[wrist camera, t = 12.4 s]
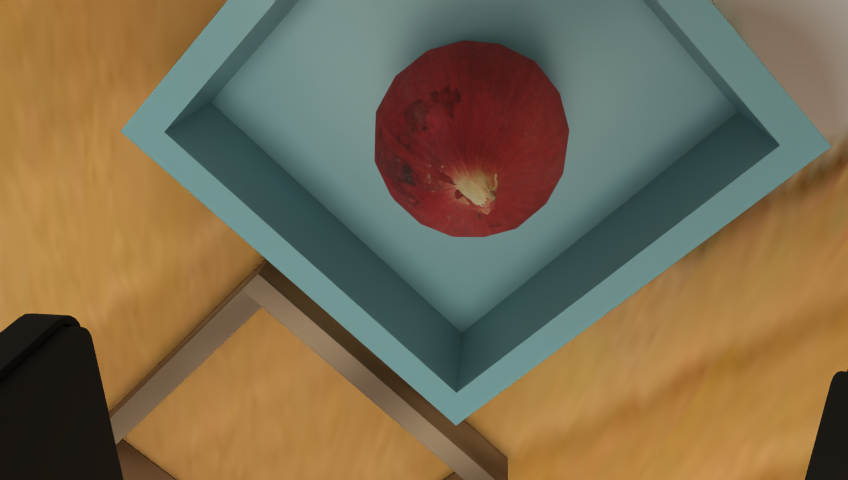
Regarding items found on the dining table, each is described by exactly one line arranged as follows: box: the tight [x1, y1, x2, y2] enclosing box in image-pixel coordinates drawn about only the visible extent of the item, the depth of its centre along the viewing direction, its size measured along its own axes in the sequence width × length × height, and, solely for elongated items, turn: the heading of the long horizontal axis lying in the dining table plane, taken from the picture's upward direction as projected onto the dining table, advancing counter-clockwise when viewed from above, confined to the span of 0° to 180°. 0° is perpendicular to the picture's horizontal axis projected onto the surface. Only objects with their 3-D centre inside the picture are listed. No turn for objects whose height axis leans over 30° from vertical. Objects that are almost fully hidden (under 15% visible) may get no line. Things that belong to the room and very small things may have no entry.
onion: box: [375, 40, 569, 237], centre depth 22 cm, size 6×6×8 cm
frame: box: [109, 259, 508, 480], centre depth 33 cm, size 14×14×2 cm
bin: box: [121, 0, 831, 425], centre depth 24 cm, size 15×15×5 cm
